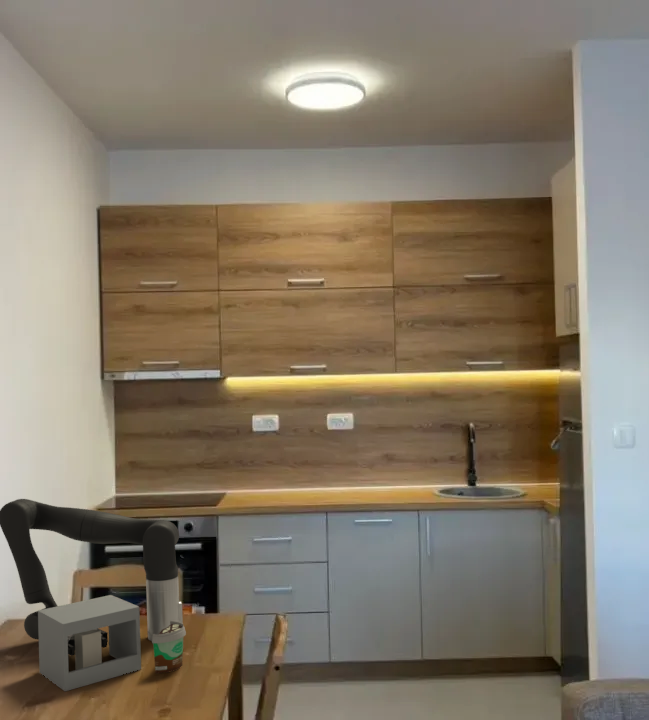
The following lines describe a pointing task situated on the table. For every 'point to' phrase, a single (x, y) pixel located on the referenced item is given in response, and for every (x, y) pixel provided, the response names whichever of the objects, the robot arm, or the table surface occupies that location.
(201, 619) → the table surface
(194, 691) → the table surface
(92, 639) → the cream block
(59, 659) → the open box frame
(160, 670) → the food container
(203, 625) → the table surface
